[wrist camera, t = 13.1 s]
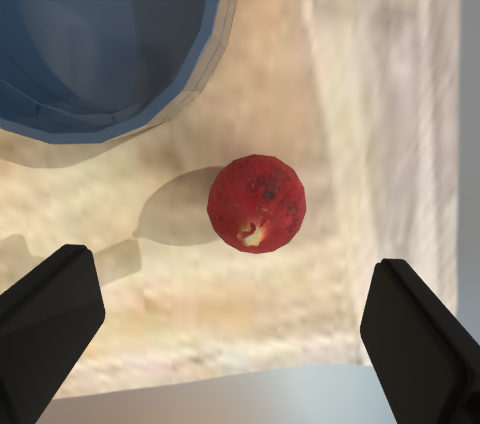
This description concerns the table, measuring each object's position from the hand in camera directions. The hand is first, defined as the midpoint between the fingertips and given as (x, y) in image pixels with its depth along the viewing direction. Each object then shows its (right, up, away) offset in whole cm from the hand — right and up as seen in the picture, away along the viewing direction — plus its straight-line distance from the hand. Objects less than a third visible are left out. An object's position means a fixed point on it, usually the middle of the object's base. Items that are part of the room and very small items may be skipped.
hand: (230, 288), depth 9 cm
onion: (+2, +5, +11) cm, 12 cm away
